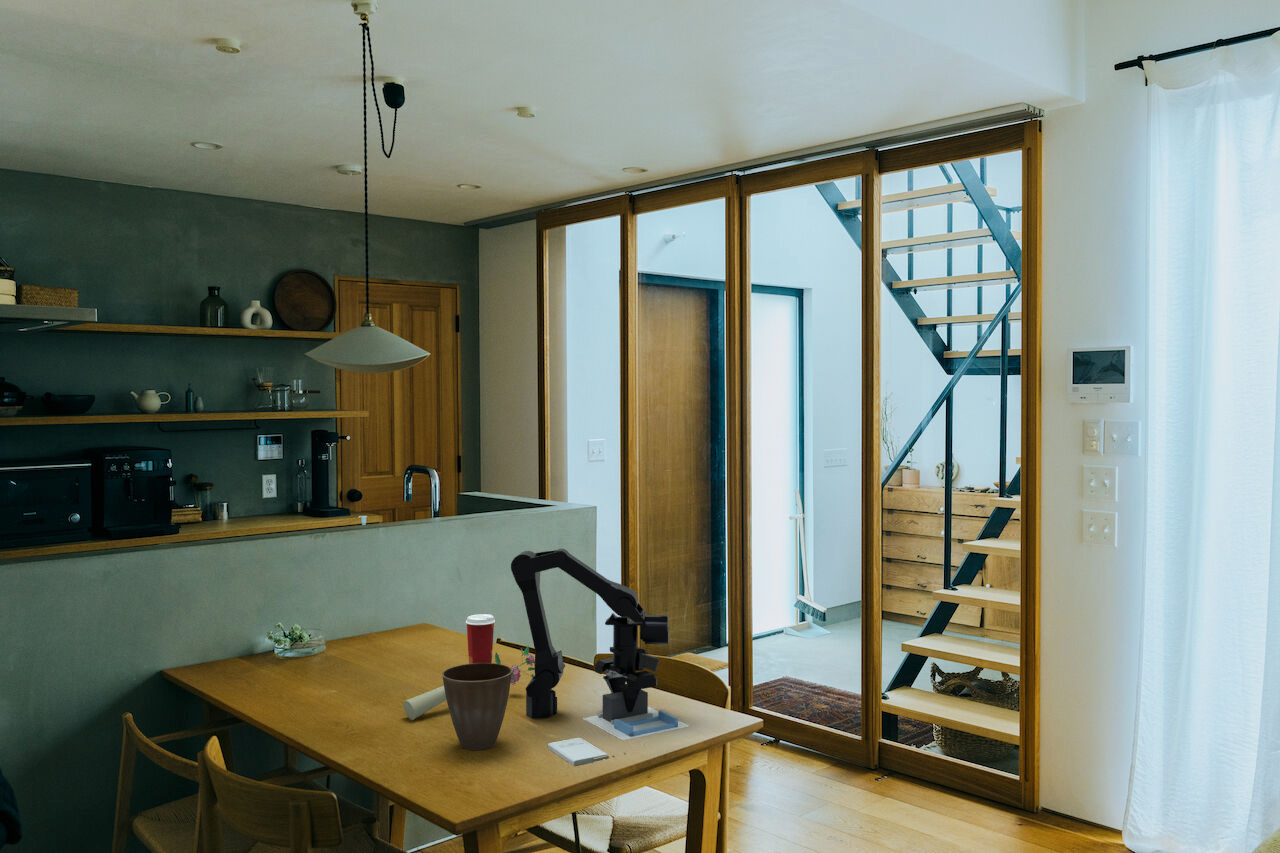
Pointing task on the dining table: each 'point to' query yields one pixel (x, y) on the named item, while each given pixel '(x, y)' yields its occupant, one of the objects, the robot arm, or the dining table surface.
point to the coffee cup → (480, 638)
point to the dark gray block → (623, 706)
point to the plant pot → (477, 702)
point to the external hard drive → (577, 751)
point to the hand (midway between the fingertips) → (625, 709)
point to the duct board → (638, 724)
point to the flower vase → (437, 696)
